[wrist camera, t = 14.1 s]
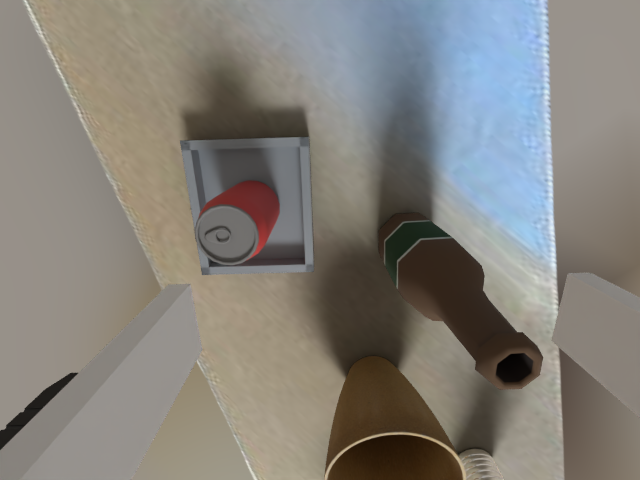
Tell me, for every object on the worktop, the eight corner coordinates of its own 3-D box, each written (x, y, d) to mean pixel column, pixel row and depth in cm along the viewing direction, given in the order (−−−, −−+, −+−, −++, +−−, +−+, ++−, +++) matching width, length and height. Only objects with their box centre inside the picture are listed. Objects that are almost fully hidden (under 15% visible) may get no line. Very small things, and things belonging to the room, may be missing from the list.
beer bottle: (365, 225, 40) (429, 344, 17) (422, 199, 39) (570, 288, 16) (388, 274, 42) (470, 437, 19) (442, 251, 41) (597, 394, 18)
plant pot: (402, 320, 44) (446, 416, 29) (430, 395, 49) (480, 512, 34) (307, 352, 46) (301, 459, 31) (342, 422, 50) (352, 546, 35)
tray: (190, 140, 36) (179, 140, 34) (309, 136, 36) (308, 136, 33) (210, 265, 41) (202, 274, 39) (314, 262, 41) (313, 271, 39)
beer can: (222, 182, 37) (179, 202, 26) (276, 176, 37) (257, 194, 26) (232, 234, 39) (197, 274, 28) (284, 229, 39) (269, 267, 28)
